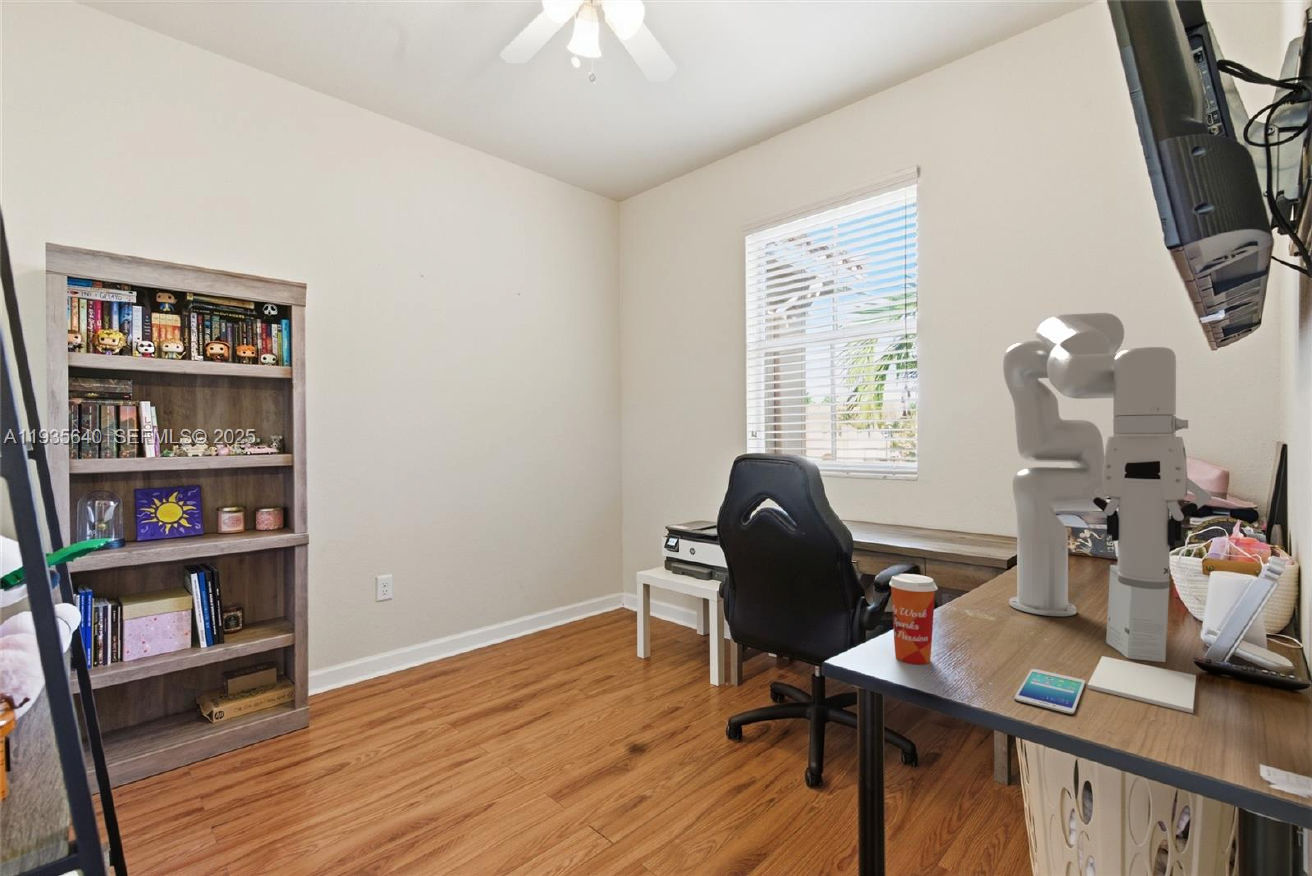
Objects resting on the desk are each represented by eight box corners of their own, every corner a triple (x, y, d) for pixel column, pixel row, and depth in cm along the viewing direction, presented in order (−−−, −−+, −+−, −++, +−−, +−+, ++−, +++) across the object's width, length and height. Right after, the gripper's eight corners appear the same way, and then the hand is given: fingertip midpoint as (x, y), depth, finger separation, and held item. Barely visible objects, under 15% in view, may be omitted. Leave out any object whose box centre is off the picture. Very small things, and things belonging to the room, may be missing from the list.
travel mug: (1182, 590, 89) (1182, 457, 89) (1132, 588, 90) (1132, 457, 90) (1155, 580, 95) (1156, 456, 95) (1109, 578, 96) (1109, 455, 96)
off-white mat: (1102, 659, 103) (1102, 656, 103) (1195, 679, 95) (1195, 675, 95) (1087, 688, 91) (1087, 684, 91) (1192, 713, 83) (1193, 709, 83)
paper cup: (880, 657, 104) (880, 577, 104) (902, 647, 109) (902, 571, 109) (924, 671, 98) (924, 586, 98) (945, 659, 103) (946, 579, 103)
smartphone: (1086, 680, 93) (1074, 713, 82) (1086, 685, 93) (1074, 719, 82) (1031, 668, 98) (1012, 697, 87) (1031, 673, 98) (1012, 703, 87)
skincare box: (1105, 643, 111) (1105, 564, 111) (1143, 646, 109) (1143, 565, 109) (1129, 660, 102) (1129, 574, 102) (1170, 663, 101) (1170, 576, 101)
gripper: (1220, 427, 89) (1219, 546, 90) (1080, 428, 101) (1079, 533, 101) (1220, 427, 84) (1219, 553, 84) (1072, 428, 96) (1072, 539, 96)
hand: (1143, 541), depth 93 cm, fingers closed on travel mug, 6 cm apart
